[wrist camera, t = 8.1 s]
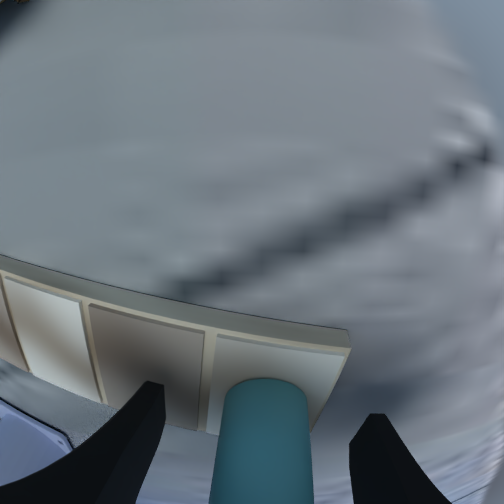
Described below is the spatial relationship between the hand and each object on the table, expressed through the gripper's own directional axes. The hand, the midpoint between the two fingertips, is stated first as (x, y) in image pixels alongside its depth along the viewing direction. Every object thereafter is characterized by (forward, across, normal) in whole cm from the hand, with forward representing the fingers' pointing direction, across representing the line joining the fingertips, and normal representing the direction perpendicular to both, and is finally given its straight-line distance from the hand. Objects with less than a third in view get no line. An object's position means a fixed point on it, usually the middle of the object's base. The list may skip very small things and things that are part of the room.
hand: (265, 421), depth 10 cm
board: (+2, +7, 0) cm, 7 cm away
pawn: (+1, 0, 0) cm, 1 cm away
